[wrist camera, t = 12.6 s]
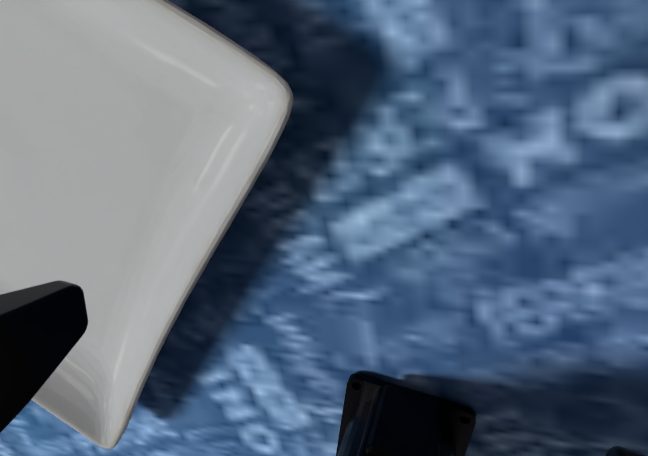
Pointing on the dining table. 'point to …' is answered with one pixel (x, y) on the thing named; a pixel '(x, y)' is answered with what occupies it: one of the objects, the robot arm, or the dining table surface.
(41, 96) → the square plate
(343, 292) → the dining table surface
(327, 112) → the dining table surface
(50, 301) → the robot arm
